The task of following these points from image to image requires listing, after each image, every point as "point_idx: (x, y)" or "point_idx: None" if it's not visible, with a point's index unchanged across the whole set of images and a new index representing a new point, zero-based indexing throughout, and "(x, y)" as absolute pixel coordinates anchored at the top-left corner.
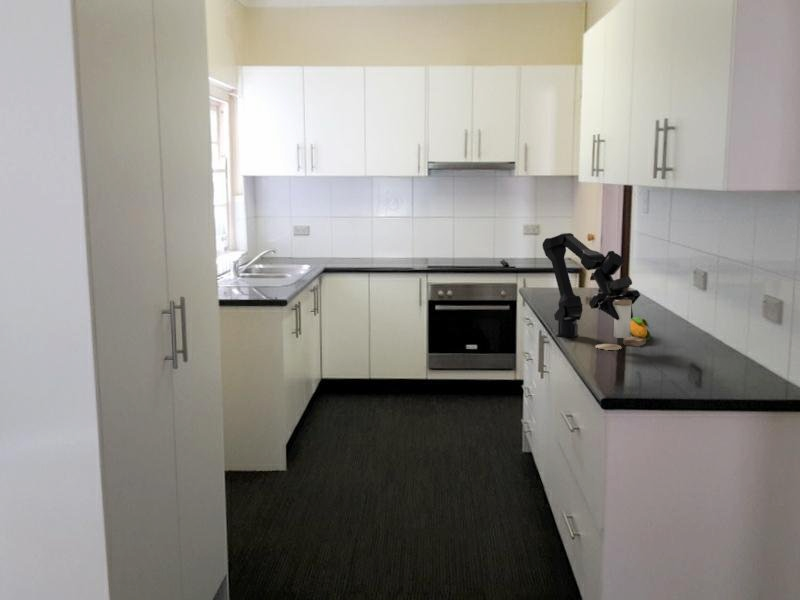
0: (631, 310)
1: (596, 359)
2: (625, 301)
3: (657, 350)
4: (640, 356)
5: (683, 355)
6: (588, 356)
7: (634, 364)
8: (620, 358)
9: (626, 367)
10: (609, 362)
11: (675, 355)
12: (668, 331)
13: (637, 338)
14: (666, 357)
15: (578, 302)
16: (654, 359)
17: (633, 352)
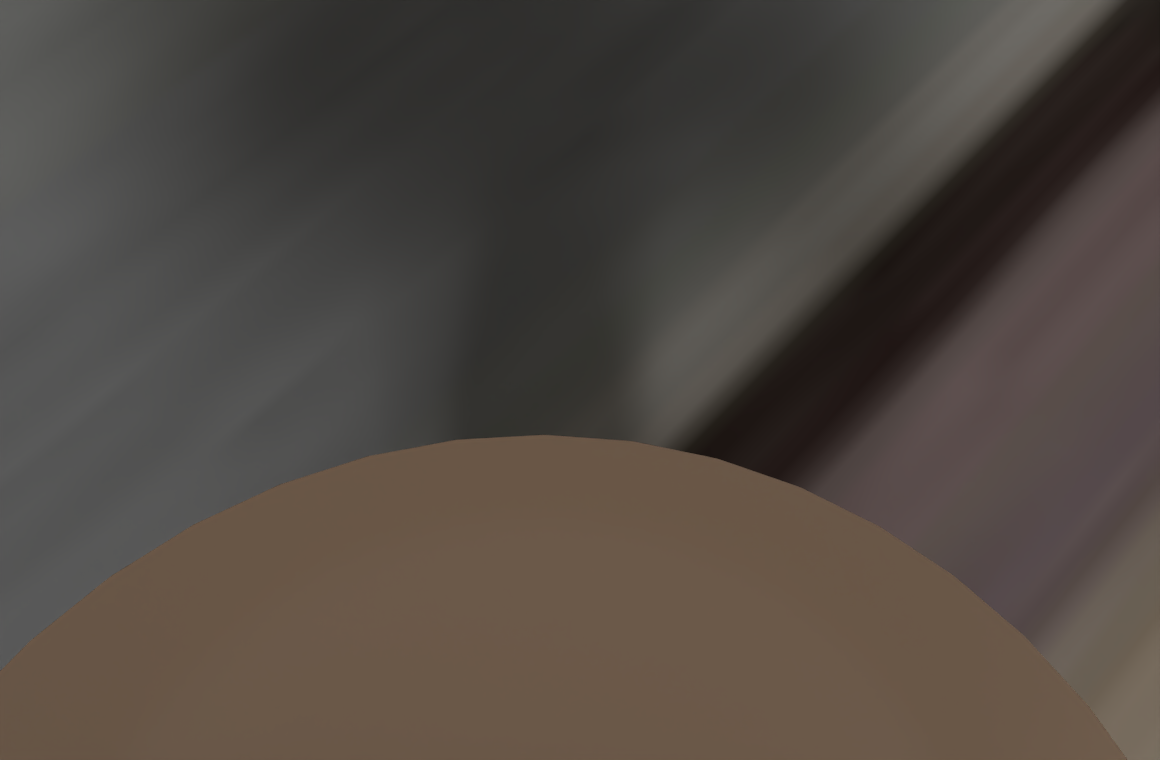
0: None
1: (1150, 502)
2: (849, 527)
3: (33, 424)
4: (533, 297)
5: (25, 22)
6: (1139, 707)
7: (911, 48)
8: (840, 364)
9: (1088, 3)
10: (1106, 285)
11: (108, 79)
12: None
13: None
14: (300, 71)
15: None
16: (514, 83)
17: None
